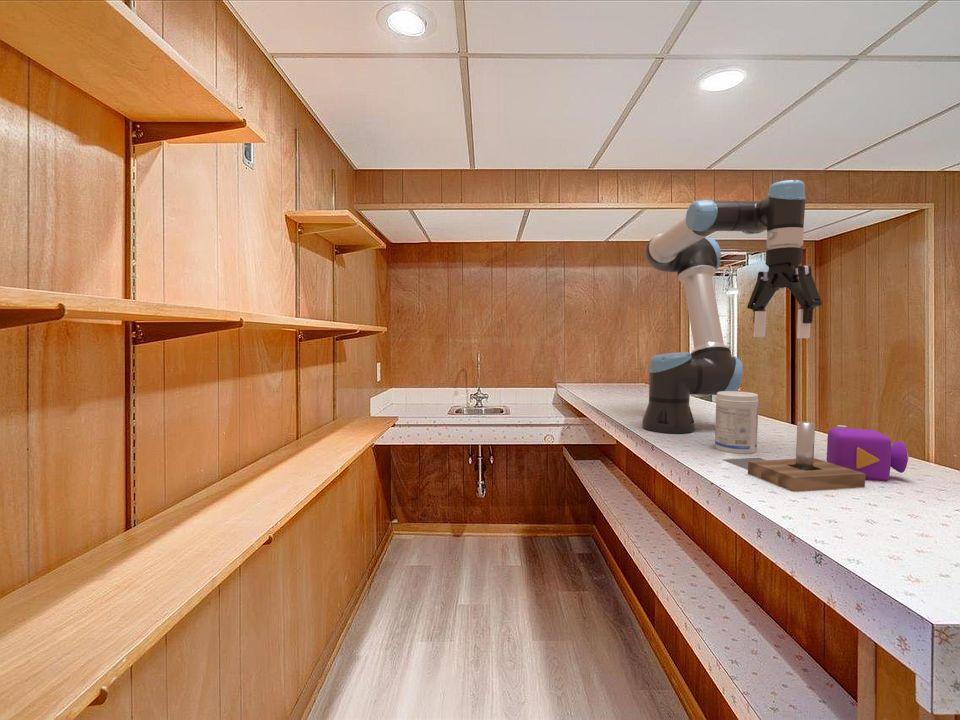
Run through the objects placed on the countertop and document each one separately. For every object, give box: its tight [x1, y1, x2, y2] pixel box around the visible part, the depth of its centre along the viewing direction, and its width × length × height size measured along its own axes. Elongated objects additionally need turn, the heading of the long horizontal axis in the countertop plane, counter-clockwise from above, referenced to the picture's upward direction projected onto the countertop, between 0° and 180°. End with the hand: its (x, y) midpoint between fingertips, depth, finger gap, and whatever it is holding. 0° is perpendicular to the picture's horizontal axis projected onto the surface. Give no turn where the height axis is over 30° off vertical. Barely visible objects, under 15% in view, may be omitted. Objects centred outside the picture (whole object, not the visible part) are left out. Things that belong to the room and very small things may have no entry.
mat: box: [721, 457, 766, 471], centre depth 112 cm, size 12×10×1 cm
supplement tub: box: [714, 390, 759, 455], centre depth 127 cm, size 10×10×15 cm
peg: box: [795, 421, 816, 471], centre depth 102 cm, size 3×3×12 cm
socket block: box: [747, 457, 866, 493], centre depth 102 cm, size 12×16×3 cm
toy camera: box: [826, 424, 910, 482], centre depth 106 cm, size 11×14×10 cm
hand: (780, 337), depth 122 cm, fingers open, 13 cm apart
